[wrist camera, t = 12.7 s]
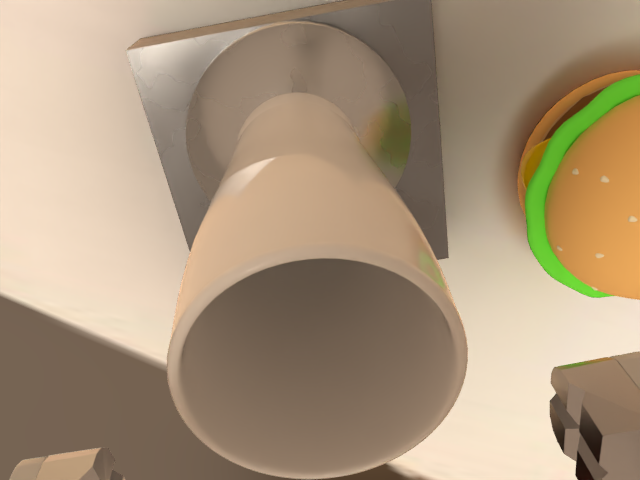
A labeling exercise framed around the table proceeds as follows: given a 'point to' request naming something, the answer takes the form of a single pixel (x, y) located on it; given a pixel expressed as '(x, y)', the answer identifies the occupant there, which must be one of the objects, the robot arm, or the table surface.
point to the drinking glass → (312, 306)
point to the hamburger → (587, 188)
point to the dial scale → (299, 76)
